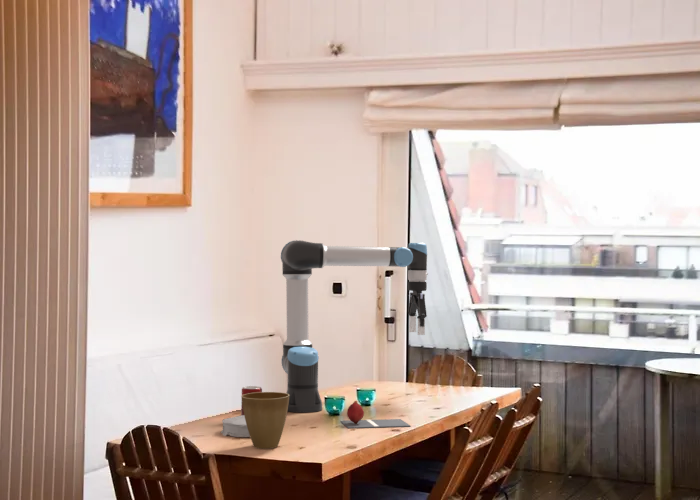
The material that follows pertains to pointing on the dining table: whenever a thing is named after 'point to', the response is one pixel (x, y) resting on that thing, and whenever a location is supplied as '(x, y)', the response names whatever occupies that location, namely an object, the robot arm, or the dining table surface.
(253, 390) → the soda can
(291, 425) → the dining table surface
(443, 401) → the dining table surface
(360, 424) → the mat
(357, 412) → the onion
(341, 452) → the dining table surface
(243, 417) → the food container
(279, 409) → the plant pot
